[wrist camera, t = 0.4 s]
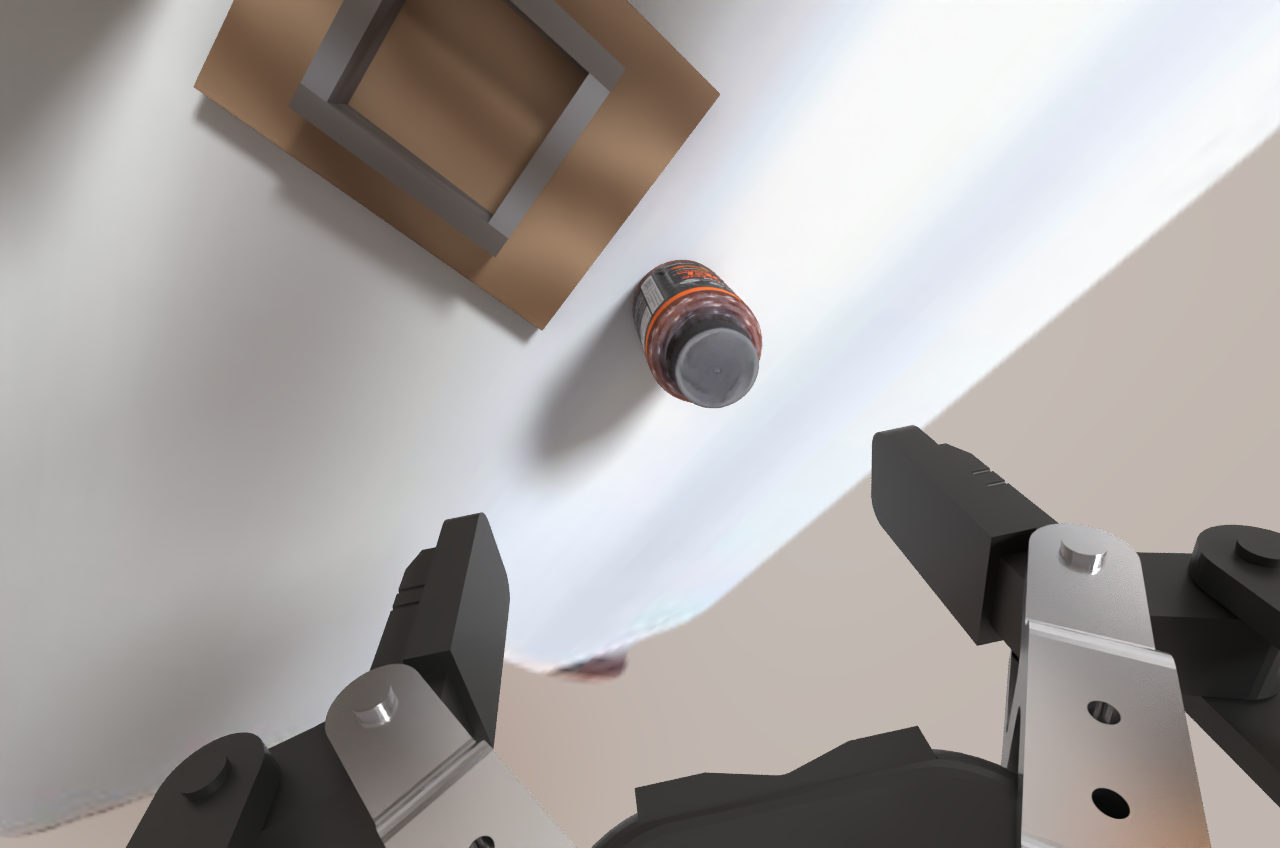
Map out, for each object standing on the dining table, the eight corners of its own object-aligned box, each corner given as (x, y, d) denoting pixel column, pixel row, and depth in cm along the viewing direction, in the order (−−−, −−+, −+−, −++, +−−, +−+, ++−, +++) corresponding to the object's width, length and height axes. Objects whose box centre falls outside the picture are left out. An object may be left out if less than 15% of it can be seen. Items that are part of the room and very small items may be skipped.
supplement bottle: (736, 268, 37) (801, 322, 27) (709, 357, 39) (759, 437, 29) (643, 246, 36) (674, 295, 26) (621, 340, 38) (641, 417, 28)
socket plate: (370, -247, 25) (333, -317, 21) (713, 95, 33) (735, 91, 29) (210, 88, 30) (155, 83, 26) (543, 323, 37) (540, 347, 33)
